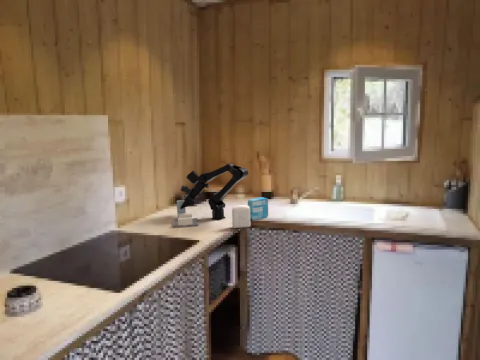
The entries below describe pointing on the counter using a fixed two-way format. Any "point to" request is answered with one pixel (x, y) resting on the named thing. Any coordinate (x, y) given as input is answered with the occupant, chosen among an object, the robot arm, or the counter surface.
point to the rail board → (185, 220)
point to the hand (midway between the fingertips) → (180, 207)
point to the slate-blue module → (179, 203)
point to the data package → (258, 208)
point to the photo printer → (241, 216)
